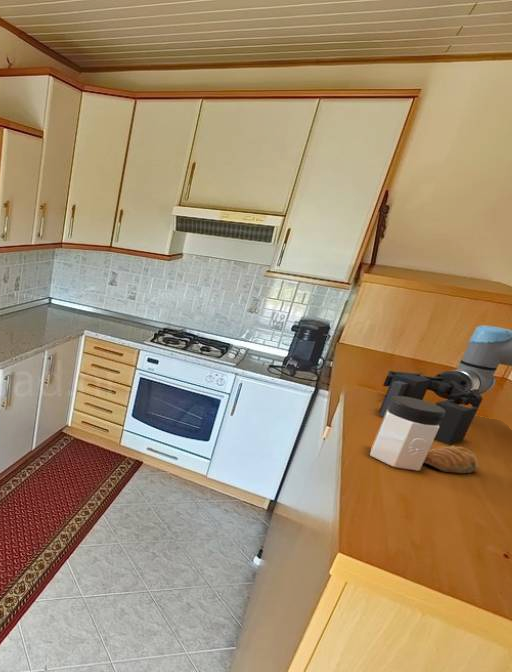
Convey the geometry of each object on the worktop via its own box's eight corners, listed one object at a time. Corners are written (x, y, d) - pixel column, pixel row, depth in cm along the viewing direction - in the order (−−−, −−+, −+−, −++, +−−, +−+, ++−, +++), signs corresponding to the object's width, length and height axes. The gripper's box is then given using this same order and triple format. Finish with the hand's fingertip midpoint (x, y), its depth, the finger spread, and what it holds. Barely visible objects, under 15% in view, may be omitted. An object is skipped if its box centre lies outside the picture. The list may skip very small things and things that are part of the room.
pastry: (447, 477, 91) (456, 459, 90) (409, 459, 97) (416, 442, 96) (478, 473, 94) (487, 455, 93) (439, 456, 100) (447, 439, 99)
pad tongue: (392, 409, 126) (407, 372, 122) (415, 417, 122) (431, 379, 118) (372, 413, 121) (387, 375, 118) (395, 421, 117) (411, 382, 113)
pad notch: (436, 430, 114) (450, 399, 111) (462, 440, 110) (478, 407, 107) (422, 434, 111) (436, 402, 108) (448, 444, 106) (464, 411, 104)
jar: (381, 466, 92) (406, 408, 88) (358, 446, 100) (380, 392, 96) (432, 474, 91) (460, 415, 87) (405, 454, 99) (429, 399, 95)
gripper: (508, 415, 123) (471, 424, 113) (397, 381, 144) (358, 386, 134) (522, 387, 121) (486, 395, 111) (407, 357, 141) (368, 360, 131)
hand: (416, 390), depth 122 cm, fingers open, 13 cm apart
